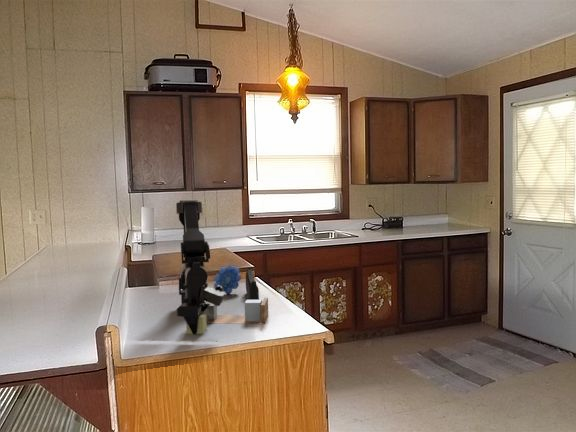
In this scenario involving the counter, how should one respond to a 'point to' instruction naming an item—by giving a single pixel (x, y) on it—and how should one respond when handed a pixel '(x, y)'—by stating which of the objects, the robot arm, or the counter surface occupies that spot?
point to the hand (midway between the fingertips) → (196, 331)
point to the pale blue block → (253, 310)
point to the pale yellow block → (199, 325)
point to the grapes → (228, 278)
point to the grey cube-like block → (211, 312)
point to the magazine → (251, 285)
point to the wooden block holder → (242, 317)
